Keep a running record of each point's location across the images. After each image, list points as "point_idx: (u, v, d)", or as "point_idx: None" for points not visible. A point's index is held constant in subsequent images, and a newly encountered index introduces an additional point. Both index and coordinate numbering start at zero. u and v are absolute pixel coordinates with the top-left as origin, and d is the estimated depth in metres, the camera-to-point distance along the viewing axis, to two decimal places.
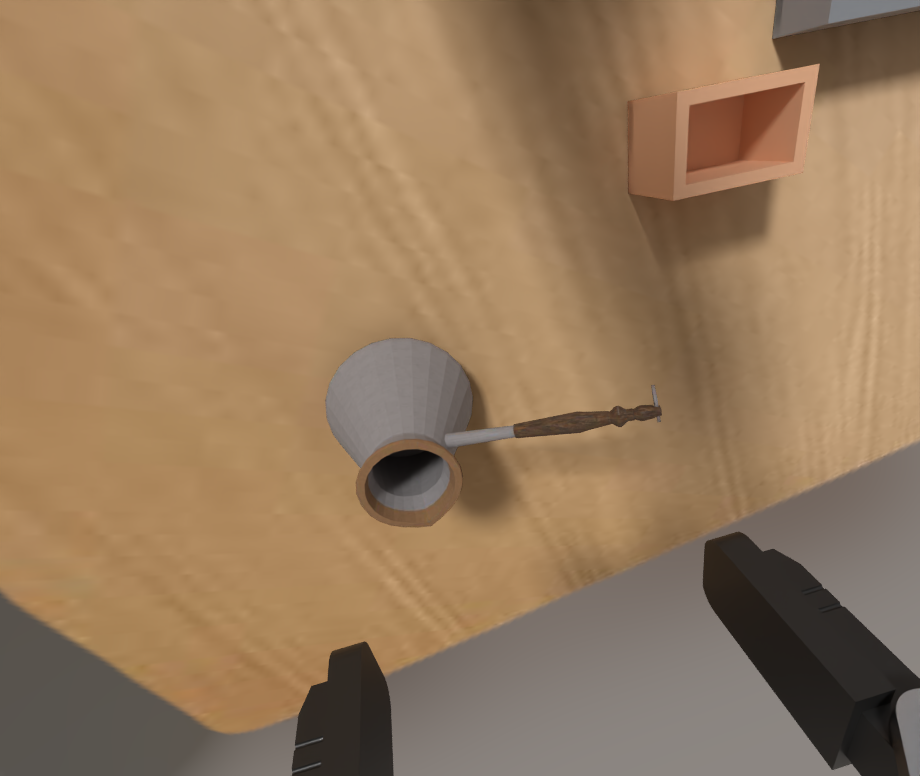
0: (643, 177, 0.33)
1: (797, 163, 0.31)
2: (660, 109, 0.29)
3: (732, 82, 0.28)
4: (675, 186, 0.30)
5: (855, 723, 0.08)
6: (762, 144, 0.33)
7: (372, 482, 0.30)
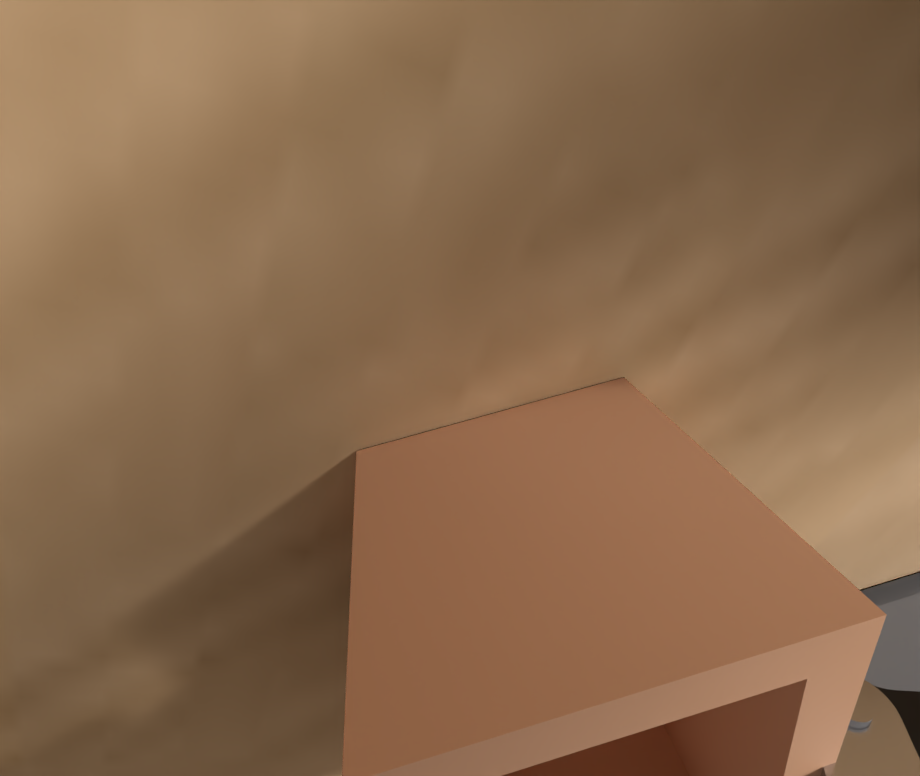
0: (422, 507, 0.08)
1: None
2: (713, 520, 0.07)
3: None
4: (423, 761, 0.05)
5: None
6: (535, 774, 0.11)
7: None
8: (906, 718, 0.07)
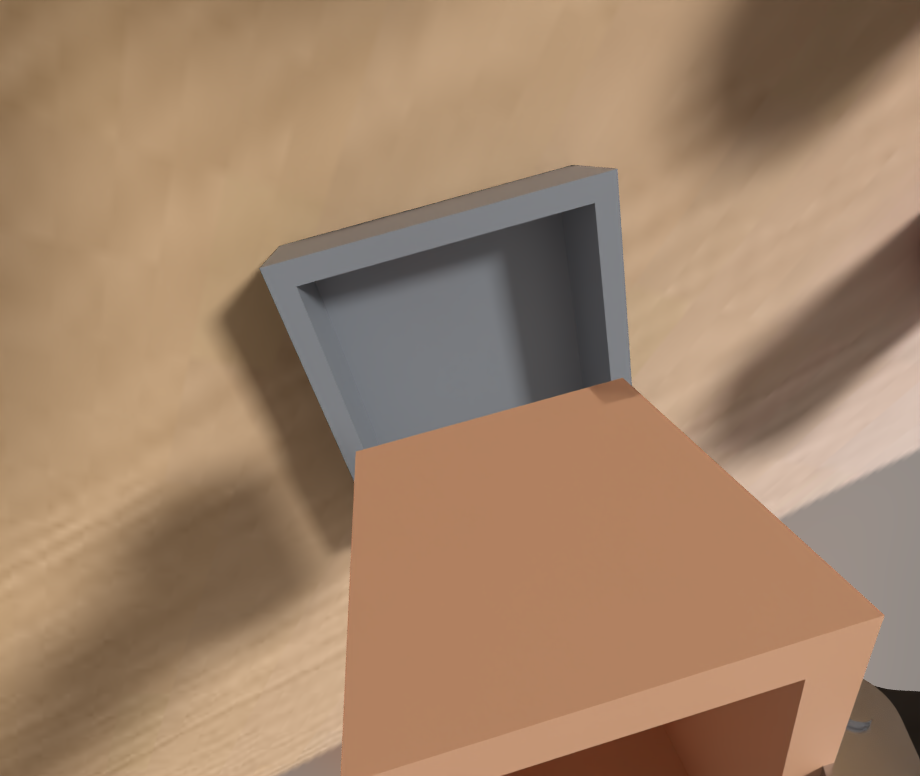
0: (421, 508, 0.08)
1: None
2: (712, 521, 0.07)
3: None
4: (422, 762, 0.05)
5: None
6: (534, 774, 0.11)
7: None
8: (906, 718, 0.07)
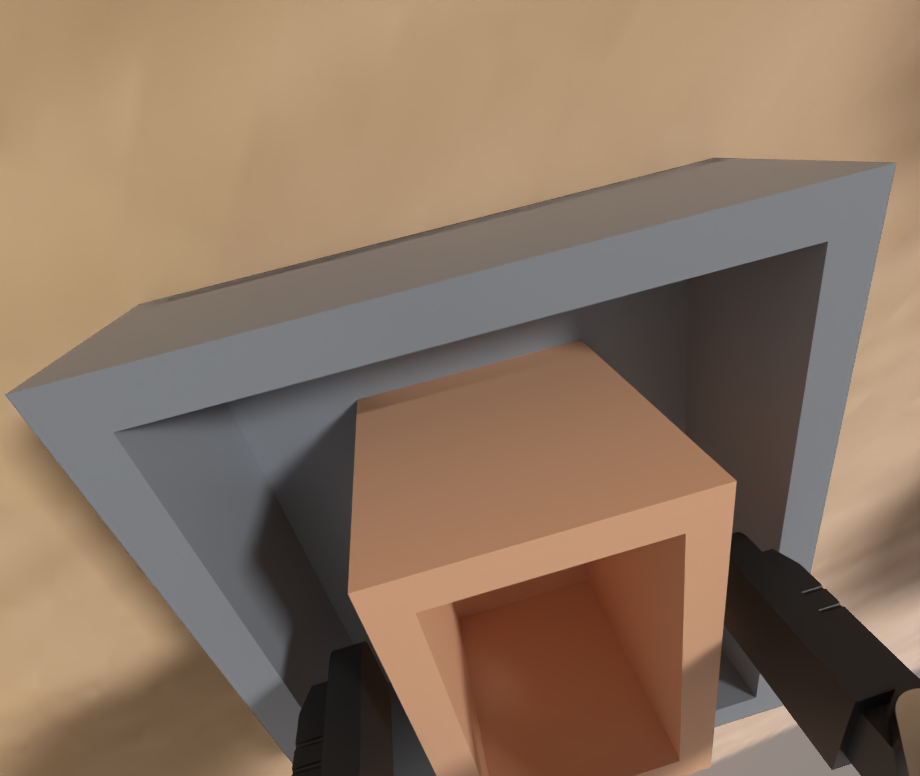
0: (409, 435, 0.10)
1: None
2: (630, 432, 0.09)
3: (719, 624, 0.09)
4: (405, 581, 0.07)
5: (854, 723, 0.08)
6: (508, 678, 0.13)
7: None
8: None
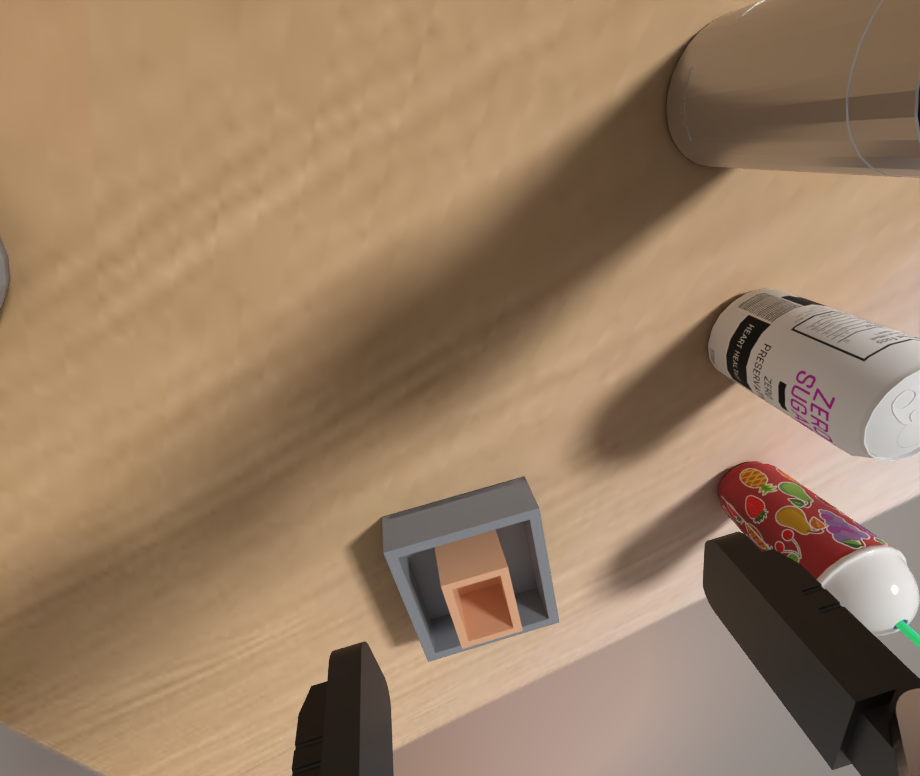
0: (448, 550, 0.44)
1: (467, 643, 0.45)
2: (494, 553, 0.42)
3: (513, 593, 0.43)
4: (450, 584, 0.41)
5: (855, 723, 0.08)
6: (473, 611, 0.47)
7: None
8: None
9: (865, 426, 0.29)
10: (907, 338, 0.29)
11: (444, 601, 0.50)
